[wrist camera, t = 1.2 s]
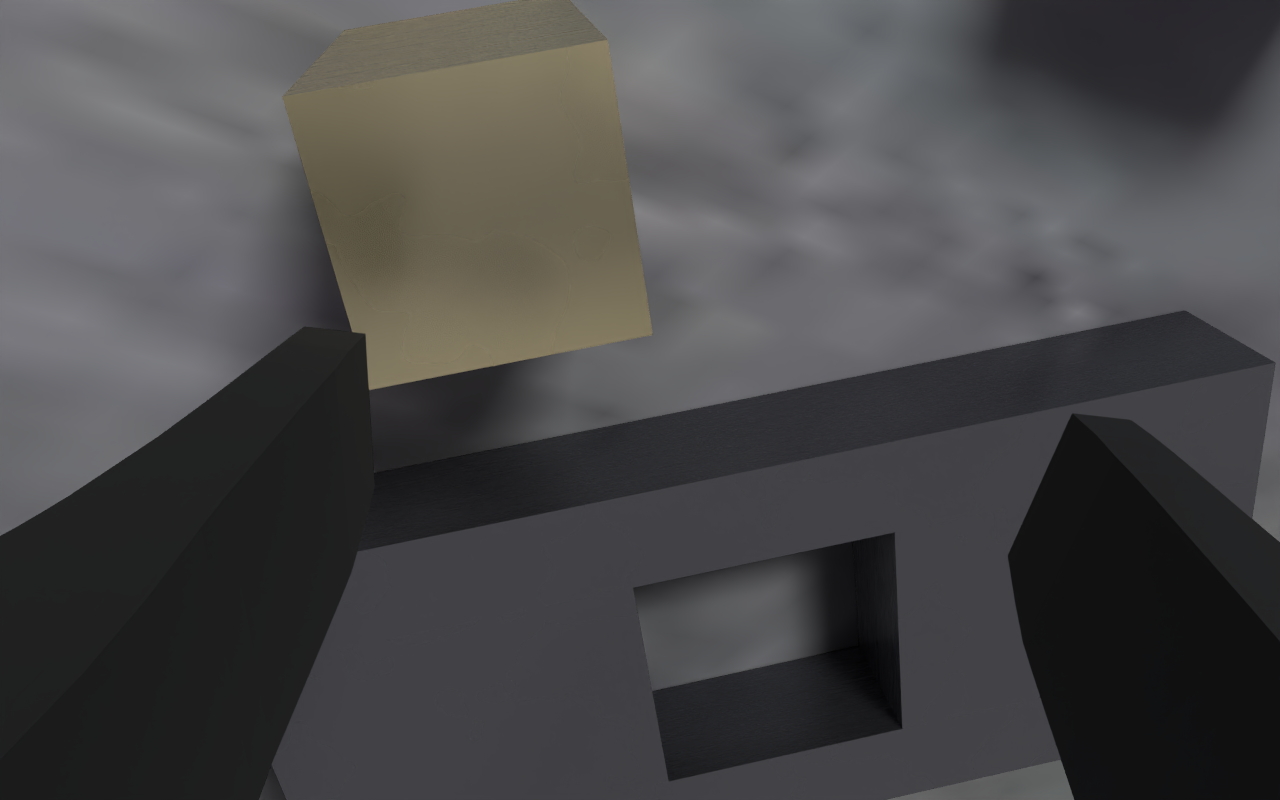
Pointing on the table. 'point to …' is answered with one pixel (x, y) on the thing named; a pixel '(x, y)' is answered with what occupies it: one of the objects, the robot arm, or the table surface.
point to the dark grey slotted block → (730, 536)
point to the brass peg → (473, 188)
